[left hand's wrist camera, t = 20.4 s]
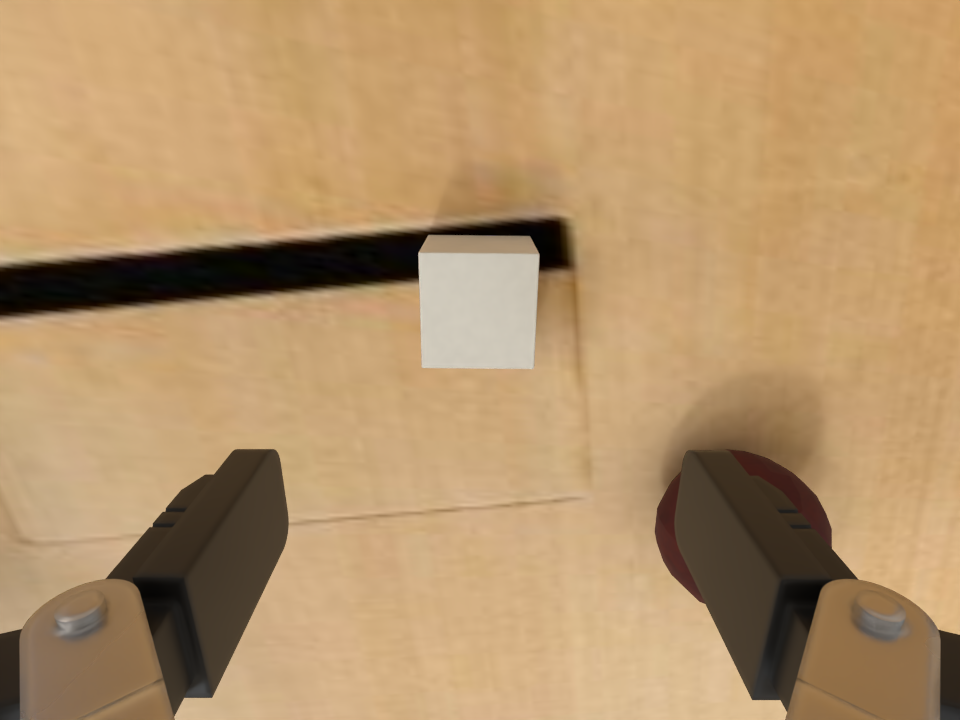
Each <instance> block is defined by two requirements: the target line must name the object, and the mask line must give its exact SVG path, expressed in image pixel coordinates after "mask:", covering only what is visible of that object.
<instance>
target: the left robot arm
mask: <svg viewBox="0 0 960 720" xmlns="http://www.w3.org/2000/svg"><path fill="white" fill-rule="evenodd" d="M674 525H675V536H676V541H677V545H678V548H679V550H680V552H681V554H682V557H683V559H684V561H685V563H686V565H687V567H688V569H689V571H690V573H691V575H692V577H693V579H694V581H695V583H696V585H697V587H698V589H699V591H700V594H701V596H702V598H703V600H704V602H705V604H706V606H707V608H708V610H709V612H710V614H711V616H712V618H713V620H714V622H715V624H716V626H717V628H718V631H719V633H720V635H721V637H722V639H723V641H724V643H725V645H726V647H727V649H728V651H729V653H730V655H731V657H732V659H733V661H734V663H735V665H736V667H737V670H738V672H739V674H740V676H741V678H742V680H743V682H744V684H745V686H746V688H747V690H748V692H749V694H750V696H751V698H752V700H781V702H782V703H783V705H784V707H785V709H786V711H787V716H786V719H785V720H960V635H958V634H953V633H949V632H945V631H941V630H938V629H937V627H936V625H935V624H934V622H933V621H932V619H931V618H930V617H929V616H928V615H927V614H926V613H925V612H924V611H923V610H922V609H921V608H920V607H918V606H917V605H916V604H914V603H913V602H912V601H910V600H909V599H907V598H905V597H904V596H902V595H900V594H898V593H896V592H895V591H893V590H890V589H888V588H886V587H883V586H881V585H878V584H874V583H871V582H867V581H863V580H858V579H857V577H856V576H855V575H854V574H853V573H852V572H851V570H850V569H849V568H848V567H847V566H846V565H845V563H844V562H843V561H842V560H841V559H840V558H839V557H838V555H837V554H836V553H835V552H834V551H833V550H832V548H831V547H830V546H829V545H828V544H827V543H826V541H825V540H824V539H823V538H822V537H821V536H820V534H819V533H818V532H817V531H816V530H815V529H812V528H811V524H810V523H809V522H808V521H807V519H806V518H805V517H804V516H803V515H802V514H801V513H798V509H797V508H796V507H795V505H794V504H793V503H792V502H791V501H790V500H789V498H788V497H787V496H786V495H785V494H784V493H783V492H782V491H781V490H779V489H778V488H776V487H775V486H773V485H772V484H770V483H769V482H767V481H765V480H764V479H762V478H761V477H759V476H749V474H748V473H747V472H746V471H745V469H744V468H743V467H742V466H741V464H740V463H739V462H738V461H737V459H736V458H735V457H734V456H733V454H732V453H731V452H729V451H727V450H689V451H687V452H686V454H685V456H684V459H683V464H682V471H681V477H680V484H679V491H678V498H677V505H676V511H675V521H674ZM287 534H288V511H287V504H286V497H285V490H284V483H283V476H282V469H281V462H280V458H279V455H278V453H277V451H276V450H274V449H236V450H234V451H233V452H232V453H231V454H230V455H229V456H228V458H227V459H226V460H225V461H224V463H223V464H222V465H221V467H220V468H219V469H218V470H217V472H216V473H215V474H214V475H204V476H203V477H201V478H199V479H198V480H196V481H195V482H193V483H192V484H190V485H189V486H187V487H186V488H184V489H182V490H181V491H180V492H179V494H178V495H177V496H176V497H175V498H174V499H173V501H172V502H171V503H170V504H169V505H168V506H167V508H166V512H162V513H161V515H160V516H159V517H158V518H157V519H156V520H155V522H154V523H153V527H149V529H148V530H147V531H146V532H145V533H144V535H143V536H142V537H141V538H140V539H139V540H138V542H137V543H136V544H135V545H134V546H133V547H132V549H131V550H130V551H129V552H128V553H127V554H126V556H125V557H124V558H123V559H122V560H121V561H120V563H119V564H118V565H117V566H116V567H115V568H114V570H113V571H112V572H111V573H110V574H109V576H108V577H107V578H106V579H104V580H97V581H93V582H89V583H86V584H82V585H79V586H77V587H74V588H72V589H70V590H67V591H65V592H64V593H62V594H60V595H58V596H56V597H55V598H53V599H51V600H50V601H48V602H47V603H46V604H44V605H43V606H42V607H40V608H39V609H38V610H37V611H36V612H35V613H34V614H33V615H32V616H31V617H30V618H29V619H28V621H27V622H26V624H25V625H24V627H23V629H20V630H16V631H11V632H7V633H3V634H0V720H175V719H174V716H175V714H176V712H177V710H178V708H179V706H180V704H181V703H182V701H183V699H184V698H212V697H213V695H214V693H215V691H216V689H217V686H218V684H219V682H220V680H221V678H222V676H223V674H224V672H225V670H226V668H227V666H228V664H229V661H230V659H231V657H232V655H233V653H234V651H235V649H236V647H237V645H238V643H239V641H240V639H241V637H242V634H243V632H244V630H245V628H246V626H247V624H248V622H249V620H250V618H251V616H252V614H253V612H254V609H255V607H256V605H257V603H258V601H259V599H260V597H261V595H262V593H263V591H264V589H265V587H266V585H267V582H268V580H269V578H270V576H271V574H272V572H273V570H274V568H275V566H276V564H277V562H278V560H279V558H280V555H281V553H282V551H283V549H284V547H285V544H286V540H287Z"/></svg>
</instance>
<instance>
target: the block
mask: <svg viewBox="0 0 960 720" xmlns="http://www.w3.org/2000/svg"><path fill="white" fill-rule="evenodd" d="M418 256H419V291H420V325H421V360H422V368H483V369H534V360H535V339H536V318H537V296H538V275H539V253H538V251H537V249H536V247H535V245H534V243H533V241H532V239H531V237H530V236H476V235H428V237H427V239H426V241H425V242H424V244H423V246H422V248H421V250H420V251H419V253H418Z"/></svg>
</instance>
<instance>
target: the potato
mask: <svg viewBox="0 0 960 720" xmlns="http://www.w3.org/2000/svg"><path fill="white" fill-rule="evenodd" d="M727 451H729V452H731V453H732V454H733V456H734V457H735V458H736V459H737V461H738V462H739V463H740V464H741V466H742V467H743V468H744V469H745V471H746V472H747V473H748V474H749V476H759V477H761V478H762V479H764V480H765V481H767V482H769V483H770V484H772V485H773V486H775V487H776V488H778V489H779V490H781V491H782V492H783V493H784V494H785V495H786V496H787V497H788V498H789V500H790V501H791V502H792V503H793V504H794V505H795V507H796V508H797V509H798V513H801V514H802V515H803V516H804V517H805V518H806V519H807V521H808V522H809V523H810V524H811V528H812V529H815V530H816V531H817V532H818V533H819V534H820V536H821V537H822V538H823V539H824V540H825V541H826V543H827V544H828V545H829V546H830V547H831V548H832V529H831V526H830V524H829V521H828V518H827V515H826V513H825V511H824V509H823V507H822V505H821V503H820V501H819V500H818V498H817V496H816V495H815V494H814V493H813V492H812V491H811V490H810V489H809V488H808V487H807V486H806V484H804V483H803V482H802V481H801V480H800V479H799V478H798V477H797V476H796V475H795V474H793V473H792V472H790V471H789V470H787V469H785V468H784V467H782V466H780V465H779V464H777V463H775V462H773V461H771V460H770V459H768V458H765V457H762V456H759V455H755V454H752V453H748V452H745V451H736V450H727ZM680 477H681V472H680V473H679V475H678V476H677V477H676V478H675V479H674V480H673V481H672V482H671V484H670V485H669V487H668V489H667V491H666V493H665V494H664V496H663V498H662V500H661V502H660V504H659V506H658V508H657V516H656V526H655V535H656V540H657V544H658V547H659V550H660V553H661V556H662V558H663V561H664V563H665V565H666V566H667V568H668V570H669V571H670V573H671V575H672V576H673V577H675V578H676V579H677V580H678V581H679V582H680V583H681V584H682V585H683V586H684V587H685V588H686V589H687V590H688V591H689V592H690V593H691V594H692V595H693V596H694V597H695V598H696V599H697V600H698V601H699V602H702V603H704V604H705V602H704V600H703V598H702V596H701V594H700V591H699V589H698V587H697V585H696V583H695V581H694V579H693V577H692V575H691V573H690V571H689V569H688V567H687V565H686V563H685V561H684V559H683V557H682V554H681V552H680V550H679V548H678V545H677V541H676V536H675V525H674V521H675V511H676V505H677V498H678V491H679V484H680Z"/></svg>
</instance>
